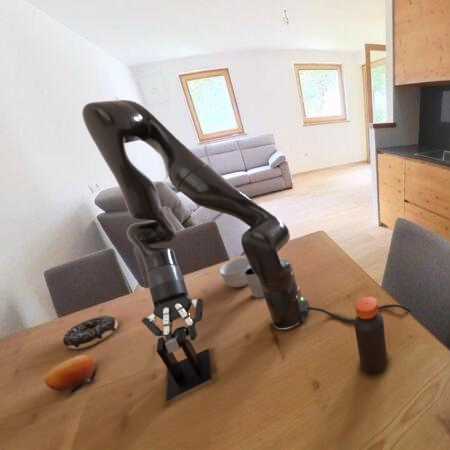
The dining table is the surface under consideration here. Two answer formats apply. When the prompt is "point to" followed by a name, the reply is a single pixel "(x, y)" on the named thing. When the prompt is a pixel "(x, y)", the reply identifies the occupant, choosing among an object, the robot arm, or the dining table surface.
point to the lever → (175, 340)
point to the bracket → (184, 366)
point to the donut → (90, 332)
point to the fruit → (70, 374)
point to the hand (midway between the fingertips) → (184, 343)
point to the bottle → (370, 336)
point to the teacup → (235, 272)
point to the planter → (254, 283)
